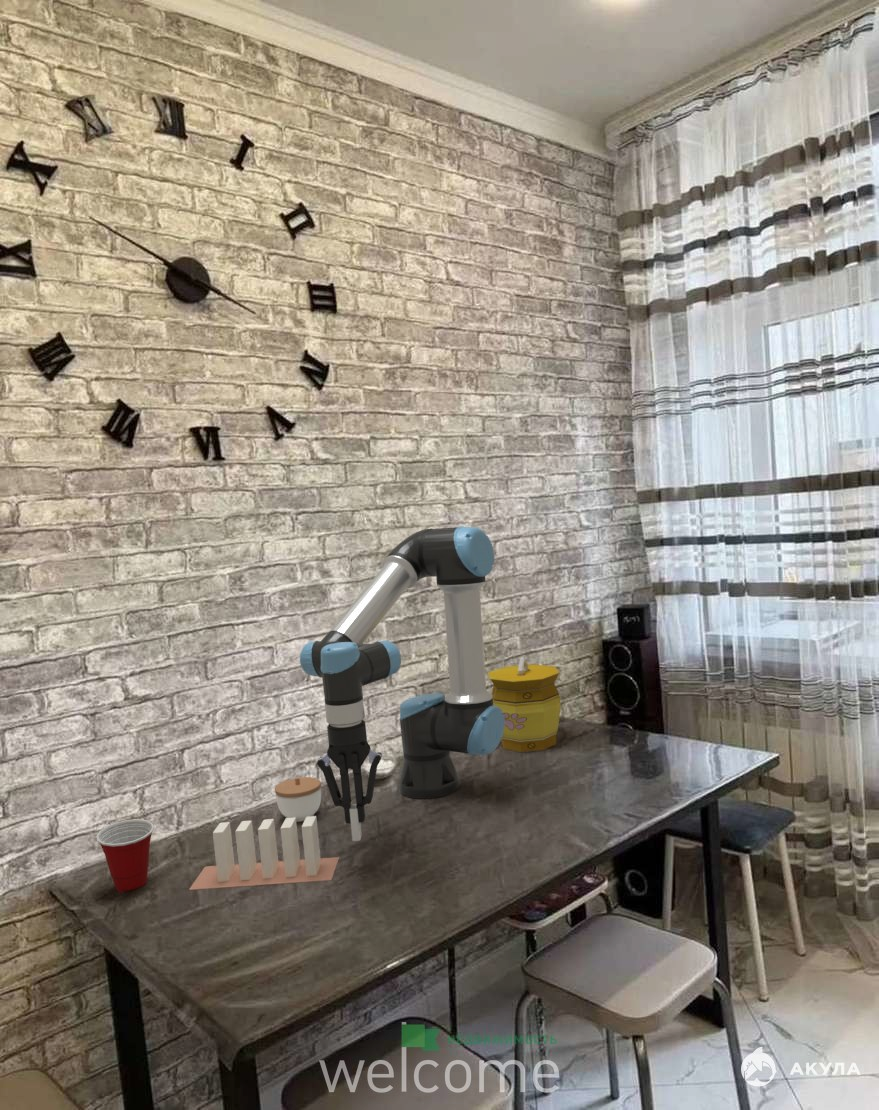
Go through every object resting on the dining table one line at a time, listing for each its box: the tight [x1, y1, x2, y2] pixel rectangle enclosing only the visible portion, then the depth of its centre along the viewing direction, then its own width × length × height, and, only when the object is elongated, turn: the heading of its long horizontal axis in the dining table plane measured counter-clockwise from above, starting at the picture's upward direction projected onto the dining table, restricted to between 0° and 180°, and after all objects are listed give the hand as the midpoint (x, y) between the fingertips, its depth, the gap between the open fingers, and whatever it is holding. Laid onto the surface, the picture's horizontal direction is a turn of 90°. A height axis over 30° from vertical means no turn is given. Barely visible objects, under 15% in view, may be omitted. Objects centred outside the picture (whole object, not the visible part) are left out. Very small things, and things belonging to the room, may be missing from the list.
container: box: [487, 656, 562, 753], centre depth 236 cm, size 21×21×25 cm
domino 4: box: [280, 817, 301, 877], centre depth 166 cm, size 2×5×10 cm, turn 178°
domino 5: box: [301, 815, 322, 876], centre depth 165 cm, size 2×5×10 cm, turn 178°
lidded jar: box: [274, 776, 322, 823], centre depth 196 cm, size 11×11×9 cm
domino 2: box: [234, 820, 257, 880], centre depth 166 cm, size 2×5×10 cm, turn 178°
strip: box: [188, 856, 340, 891], centre depth 166 cm, size 28×10×1 cm, turn 88°
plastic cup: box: [95, 818, 155, 894], centre depth 166 cm, size 11×11×12 cm
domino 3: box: [257, 818, 279, 879], centre depth 166 cm, size 2×5×10 cm, turn 178°
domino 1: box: [212, 821, 235, 882], centre depth 166 cm, size 2×5×10 cm, turn 178°
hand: (357, 838), depth 165 cm, fingers closed
